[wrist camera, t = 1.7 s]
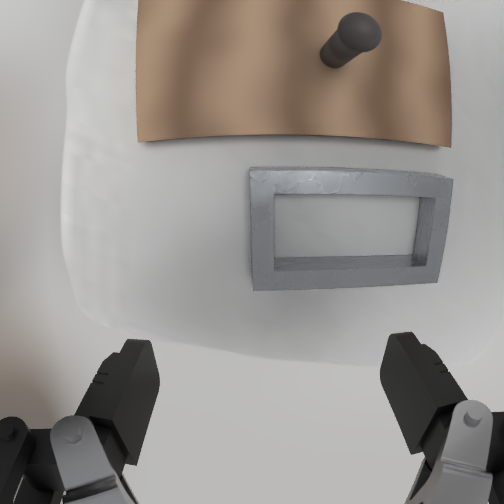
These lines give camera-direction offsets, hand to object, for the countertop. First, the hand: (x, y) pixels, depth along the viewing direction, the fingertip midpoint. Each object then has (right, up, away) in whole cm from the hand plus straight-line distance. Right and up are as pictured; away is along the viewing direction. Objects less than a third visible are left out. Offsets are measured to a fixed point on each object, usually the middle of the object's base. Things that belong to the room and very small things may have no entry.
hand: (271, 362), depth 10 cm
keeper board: (+3, +18, +10) cm, 21 cm away
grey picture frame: (+7, +6, +15) cm, 18 cm away
